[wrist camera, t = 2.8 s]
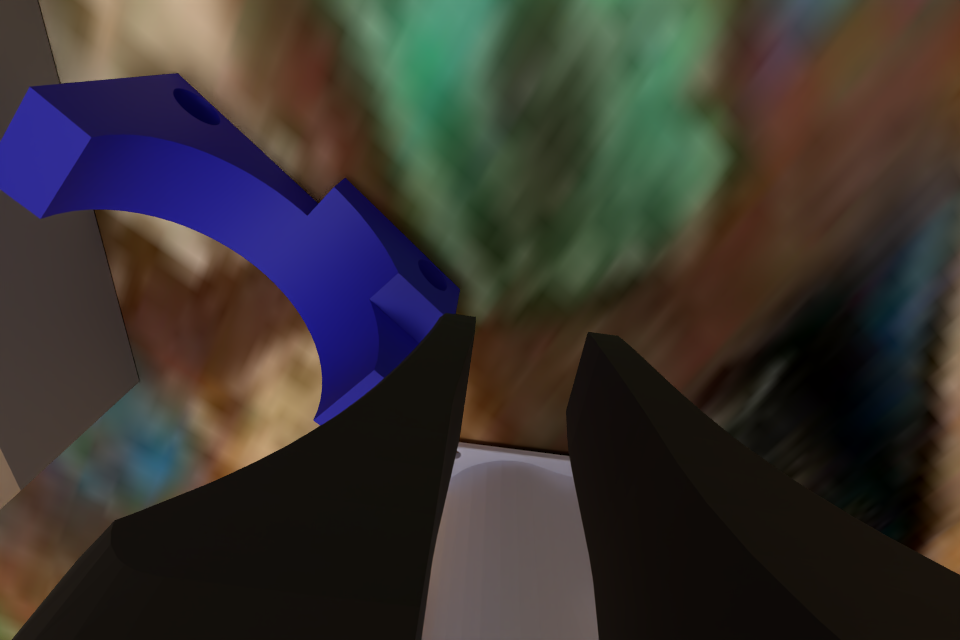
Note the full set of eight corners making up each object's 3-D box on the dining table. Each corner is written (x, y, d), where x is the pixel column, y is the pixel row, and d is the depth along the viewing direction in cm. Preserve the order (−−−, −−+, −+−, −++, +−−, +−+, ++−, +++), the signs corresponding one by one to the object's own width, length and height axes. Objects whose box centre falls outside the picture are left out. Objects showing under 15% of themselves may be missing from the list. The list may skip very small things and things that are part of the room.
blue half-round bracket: (460, 287, 20) (444, 374, 15) (386, 348, 22) (349, 446, 16) (203, 37, 16) (57, 35, 11) (137, 136, 18) (-19, 175, 12)
